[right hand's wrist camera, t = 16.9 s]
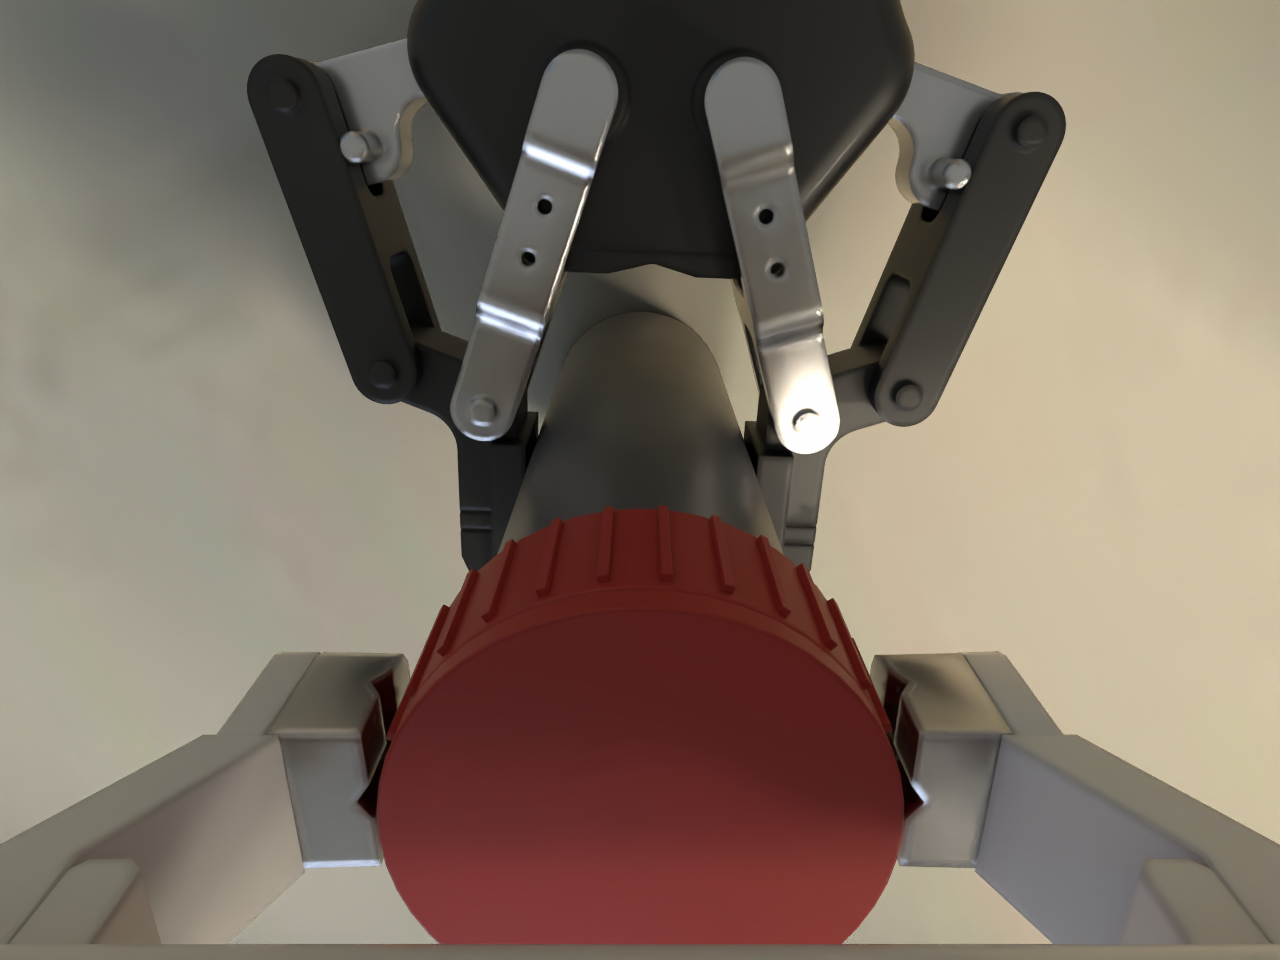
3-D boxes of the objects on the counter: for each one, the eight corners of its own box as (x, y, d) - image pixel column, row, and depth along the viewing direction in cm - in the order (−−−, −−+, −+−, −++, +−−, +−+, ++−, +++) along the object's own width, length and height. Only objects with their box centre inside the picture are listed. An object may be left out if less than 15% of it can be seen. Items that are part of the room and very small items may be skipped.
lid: (842, 861, 11) (886, 1020, 9) (446, 866, 11) (404, 1025, 9) (876, 496, 9) (942, 595, 7) (396, 504, 9) (329, 605, 7)
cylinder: (595, 489, 24) (530, 985, 10) (533, 345, 23) (351, 690, 8) (742, 436, 24) (900, 885, 9) (689, 285, 22) (779, 547, 8)
